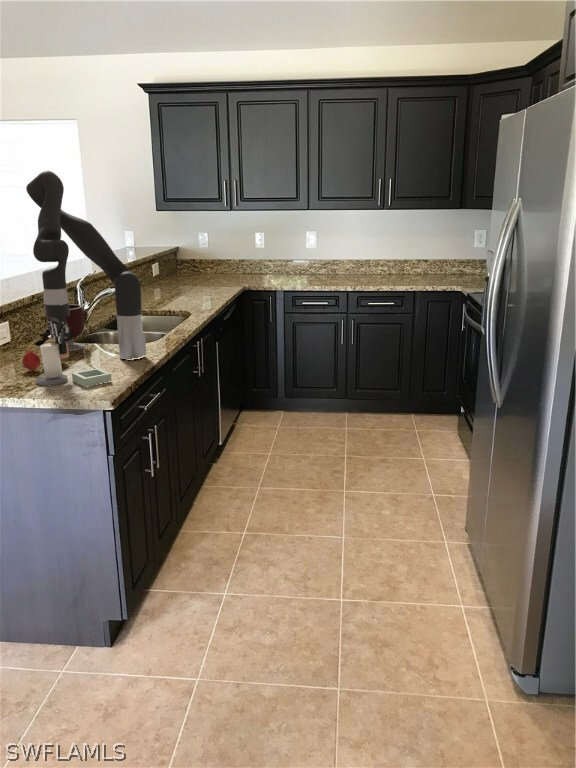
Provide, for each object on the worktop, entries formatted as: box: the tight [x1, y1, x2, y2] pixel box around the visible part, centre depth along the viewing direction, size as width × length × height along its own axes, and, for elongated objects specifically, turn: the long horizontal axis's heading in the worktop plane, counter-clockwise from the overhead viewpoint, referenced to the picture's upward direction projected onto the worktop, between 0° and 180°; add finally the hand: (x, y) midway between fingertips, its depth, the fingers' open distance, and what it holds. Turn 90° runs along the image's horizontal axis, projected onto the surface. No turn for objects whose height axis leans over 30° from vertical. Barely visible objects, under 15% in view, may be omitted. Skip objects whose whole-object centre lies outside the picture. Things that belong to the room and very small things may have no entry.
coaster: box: [35, 374, 69, 386], centre depth 200 cm, size 10×10×1 cm
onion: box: [22, 349, 41, 372], centre depth 211 cm, size 6×6×8 cm
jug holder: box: [71, 367, 112, 388], centre depth 200 cm, size 9×9×3 cm
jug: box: [39, 343, 71, 378], centre depth 199 cm, size 9×6×10 cm, turn 133°
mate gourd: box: [42, 299, 86, 352], centre depth 243 cm, size 16×14×20 cm
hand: (61, 352), depth 200 cm, fingers open, 2 cm apart
